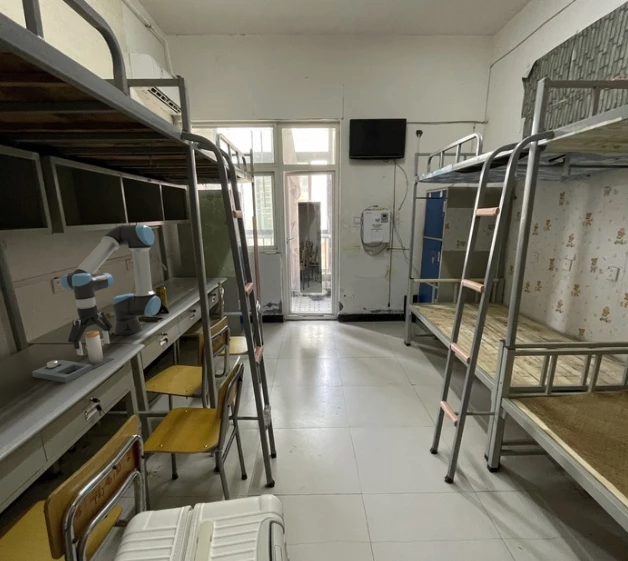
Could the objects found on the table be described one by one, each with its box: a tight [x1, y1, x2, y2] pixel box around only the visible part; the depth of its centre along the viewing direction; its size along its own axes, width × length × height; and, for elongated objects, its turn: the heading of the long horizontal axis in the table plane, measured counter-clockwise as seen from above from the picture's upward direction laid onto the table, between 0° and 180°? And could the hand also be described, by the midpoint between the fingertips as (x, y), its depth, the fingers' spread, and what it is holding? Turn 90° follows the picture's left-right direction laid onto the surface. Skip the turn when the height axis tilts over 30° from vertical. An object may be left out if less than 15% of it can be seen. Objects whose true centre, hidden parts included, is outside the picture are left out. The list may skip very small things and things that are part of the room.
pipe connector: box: [85, 337, 106, 350], centre depth 162 cm, size 10×10×10 cm
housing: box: [32, 359, 94, 384], centre depth 142 cm, size 12×20×2 cm, turn 73°
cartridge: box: [84, 330, 104, 364], centre depth 150 cm, size 6×6×15 cm
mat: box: [83, 356, 115, 370], centre depth 152 cm, size 10×10×1 cm
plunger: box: [46, 359, 59, 370], centre depth 143 cm, size 4×4×4 cm
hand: (94, 348), depth 150 cm, fingers open, 13 cm apart
